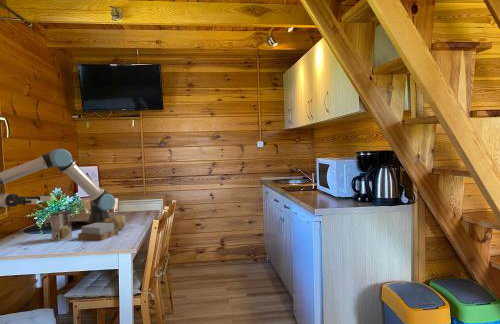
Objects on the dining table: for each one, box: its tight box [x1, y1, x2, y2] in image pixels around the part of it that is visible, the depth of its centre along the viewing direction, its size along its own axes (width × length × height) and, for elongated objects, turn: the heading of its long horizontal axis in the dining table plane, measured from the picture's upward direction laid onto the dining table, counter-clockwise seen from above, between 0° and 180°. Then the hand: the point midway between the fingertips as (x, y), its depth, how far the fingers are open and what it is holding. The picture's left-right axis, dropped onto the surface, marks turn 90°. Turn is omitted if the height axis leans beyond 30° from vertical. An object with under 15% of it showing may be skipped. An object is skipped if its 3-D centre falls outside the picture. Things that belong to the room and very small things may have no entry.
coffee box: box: [50, 210, 73, 242], centre depth 211 cm, size 9×6×16 cm
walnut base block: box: [77, 229, 119, 242], centre depth 215 cm, size 16×16×4 cm
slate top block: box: [80, 223, 114, 235], centre depth 215 cm, size 13×13×4 cm
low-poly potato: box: [104, 215, 126, 232], centre depth 233 cm, size 15×11×12 cm
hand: (44, 199), depth 210 cm, fingers open, 13 cm apart
